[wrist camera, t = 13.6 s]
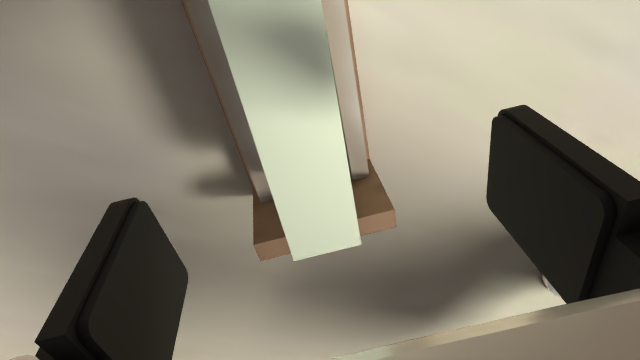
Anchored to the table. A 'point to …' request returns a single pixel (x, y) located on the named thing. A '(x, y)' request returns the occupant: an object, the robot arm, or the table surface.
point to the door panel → (293, 117)
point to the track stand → (364, 179)
